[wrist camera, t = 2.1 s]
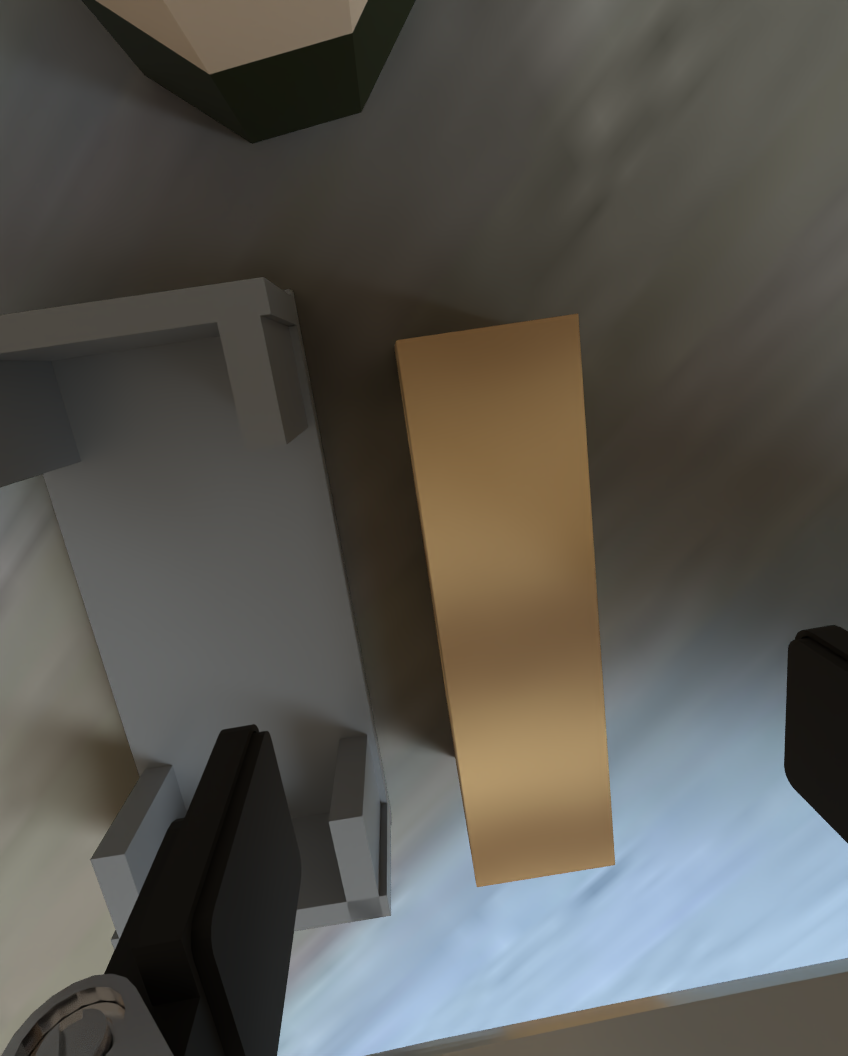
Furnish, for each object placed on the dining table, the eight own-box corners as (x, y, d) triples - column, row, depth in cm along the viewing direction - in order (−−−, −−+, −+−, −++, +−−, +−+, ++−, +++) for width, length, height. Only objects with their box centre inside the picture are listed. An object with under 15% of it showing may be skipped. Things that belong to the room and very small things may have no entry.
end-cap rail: (9, 332, 18) (-117, 321, 13) (293, 291, 18) (261, 267, 13) (172, 848, 23) (119, 964, 18) (391, 813, 23) (391, 920, 19)
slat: (394, 347, 19) (396, 340, 13) (520, 328, 19) (578, 313, 13) (454, 754, 23) (476, 887, 17) (558, 737, 23) (615, 864, 17)
